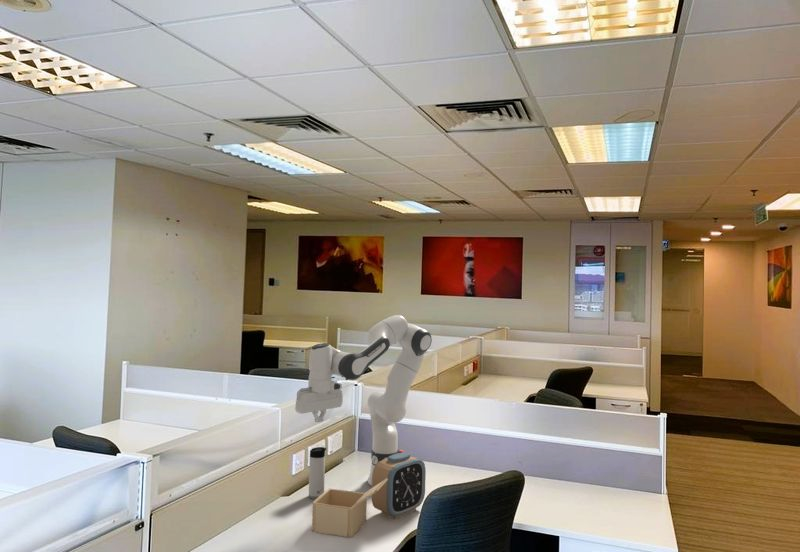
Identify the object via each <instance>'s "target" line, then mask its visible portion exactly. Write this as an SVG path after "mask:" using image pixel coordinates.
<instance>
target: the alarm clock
mask: <svg viewBox="0 0 800 552" xmlns="http://www.w3.org/2000/svg"><path fill="white" fill-rule="evenodd" d="M426 474H427V473H426V465H425V462H424V461H423V460H421V459H420V458H416V457H414V456H413V457H412V456H411V453H408V452H405V451H404V452H402V453H397V454H394V455H391V456H389V457H388V458H386V459H383V460H381V461H380V462H378V463H377V464H376V466H375V468H374V470H373V475H372V485H371V488H373V487H374V486H376V485H377V484H379V483H380V482H382V481H383V480H385V479H386V478H387V479H388V480H387V481H386V482H385V483H384V485H383V486H382V487H381V488H380V489H379V490H378V491H377V492H376V493H374V494H372V495H371V502H372V506H373V507H374V509H377V510H378V511H381V514H383V515H385V516H387V515H388V516H387V517H389V516H390V517H389V518H392V519H394V518H395V519H394V520H396V518H397V519H400V518H402V517H404V516H406V515H409V514H411V513H413V512H416V511H417V508H418V507H420V506H421V505H422V503H423V501H424V498H425V494H426ZM401 516H402V517H401ZM399 517H400V518H399Z"/></svg>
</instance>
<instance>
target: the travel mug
mask: <svg viewBox="0 0 800 552" xmlns="http://www.w3.org/2000/svg"><path fill="white" fill-rule="evenodd" d="M326 451H327V448H326V447H324V446H318V447H312V448H311V449H310V450H309V466H308V467H309V470H308V472H309V473H308V498H309V499H312V500H316V499H317V498H318V497H319V496H320V495H321V494H323V493H324V492H325V477H326V476H325V474H326V473H325V469H326Z"/></svg>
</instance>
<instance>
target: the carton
mask: <svg viewBox="0 0 800 552" xmlns="http://www.w3.org/2000/svg"><path fill="white" fill-rule="evenodd" d="M364 493H365V492H358V491H352V490H344V489H338V488H328V489H327V490H326V489H325V490H324V493H323V494H321V495H320V496H319V497H318V498H317V499H314V501H312V510H311V512H312V515H311V516H312V519H311V532H313V533H318V534H319V533H320V534H326V535H332V536H333V535H334V536H338V537H345V538H350V539H352V538H353V537H354V536H355V534H356V533H357V532H358V531H359V530H360V529H361V527H362V526H363V525H364V524H365V522H366V521H367V502H368V501H367V499H368V498H366V499H365V500H363V501H362V502H360V503H359V504H357V505H356V506H355V505H354V504H355V503H356V502H357V501H358V500H359V499H360V498H361V497H362V496H363V494H364Z"/></svg>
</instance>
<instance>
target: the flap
mask: <svg viewBox="0 0 800 552" xmlns="http://www.w3.org/2000/svg"><path fill="white" fill-rule="evenodd" d="M387 480H388V479H387V478H386V479H385V480H383V481H382V482H380V483H379V484H377V485H376V486H374V487H373V488H372V487H371V488H370V489H368V490H366V491H365V492H363V493H364V494H363V496H362V497H361V498H360V499H359V500H358V501H357V502H356V503H355V504H354V505H355V506H356V505H357V504H359V503H360V502H362V501H363V500H365V499H366V498H367V499H368V498H370V497H372V494H374V493H376V492H377V491H378V490H379V489H380V488H381V487H382V486H383V485H384V483H385V482H386V481H387Z"/></svg>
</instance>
